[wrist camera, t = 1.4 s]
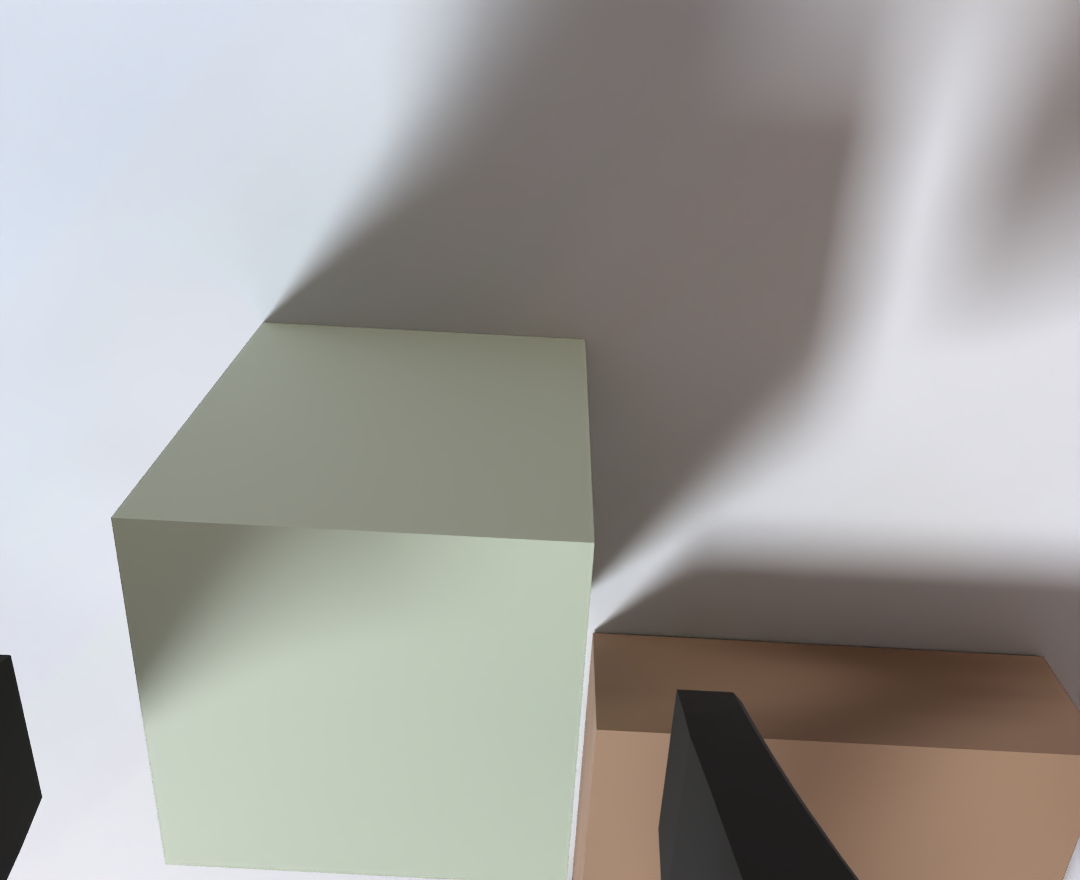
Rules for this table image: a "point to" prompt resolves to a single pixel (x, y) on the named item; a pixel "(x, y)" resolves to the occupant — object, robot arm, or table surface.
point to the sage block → (368, 605)
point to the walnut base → (847, 753)
